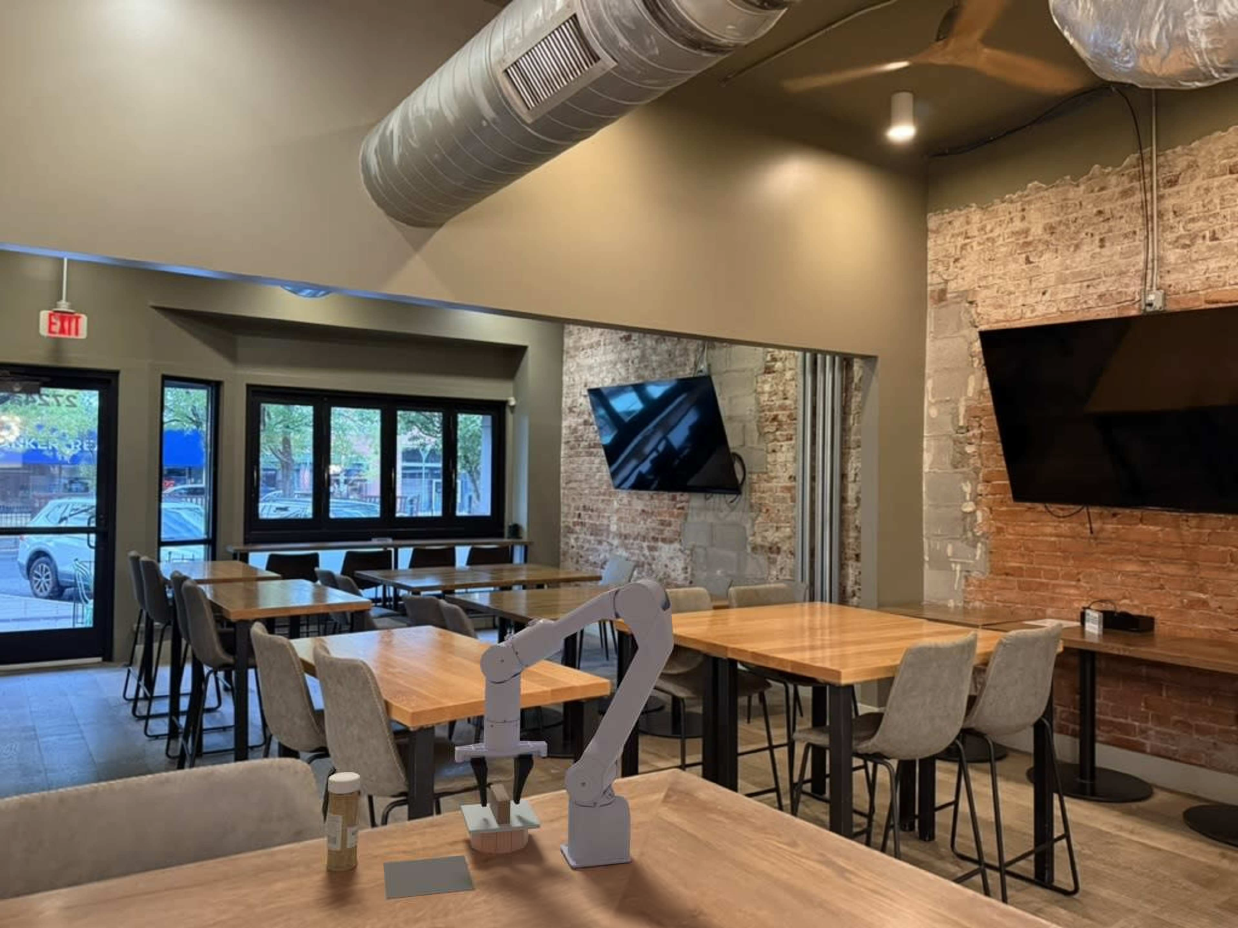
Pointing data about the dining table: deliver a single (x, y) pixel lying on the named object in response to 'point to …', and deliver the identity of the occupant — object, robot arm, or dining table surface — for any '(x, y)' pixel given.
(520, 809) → the lid
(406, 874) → the mat
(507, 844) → the bowl
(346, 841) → the sprinkles bottle
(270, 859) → the dining table surface
